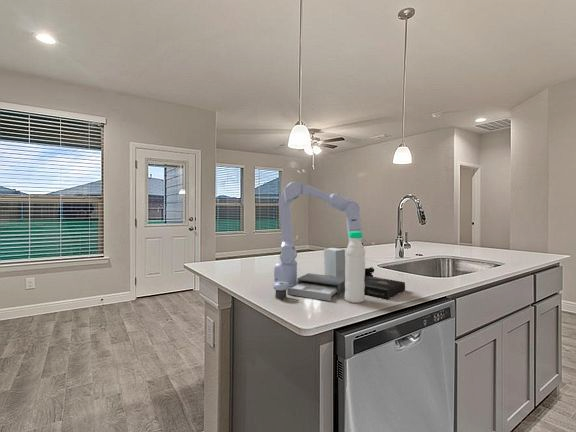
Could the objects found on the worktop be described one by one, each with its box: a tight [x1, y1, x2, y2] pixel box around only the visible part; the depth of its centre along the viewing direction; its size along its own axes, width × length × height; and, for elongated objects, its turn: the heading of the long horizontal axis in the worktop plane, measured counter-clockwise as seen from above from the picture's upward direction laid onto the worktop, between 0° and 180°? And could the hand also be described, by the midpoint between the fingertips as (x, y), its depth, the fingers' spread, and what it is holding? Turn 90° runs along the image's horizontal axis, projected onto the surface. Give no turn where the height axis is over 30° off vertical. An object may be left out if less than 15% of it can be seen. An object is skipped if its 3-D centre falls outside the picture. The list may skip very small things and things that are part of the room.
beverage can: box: [365, 266, 375, 277], centre depth 147 cm, size 9×8×12 cm
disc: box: [272, 282, 290, 291], centre depth 118 cm, size 6×6×2 cm
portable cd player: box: [364, 276, 406, 301], centre depth 128 cm, size 16×17×4 cm
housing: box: [297, 272, 346, 296], centre depth 130 cm, size 18×11×4 cm, turn 62°
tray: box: [286, 283, 338, 302], centre depth 122 cm, size 18×11×2 cm, turn 62°
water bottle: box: [344, 231, 366, 304], centre depth 114 cm, size 7×7×25 cm
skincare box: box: [323, 247, 346, 278], centre depth 142 cm, size 8×6×15 cm
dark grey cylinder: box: [275, 290, 287, 300], centre depth 118 cm, size 4×4×4 cm
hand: (358, 262), depth 133 cm, fingers open, 7 cm apart
